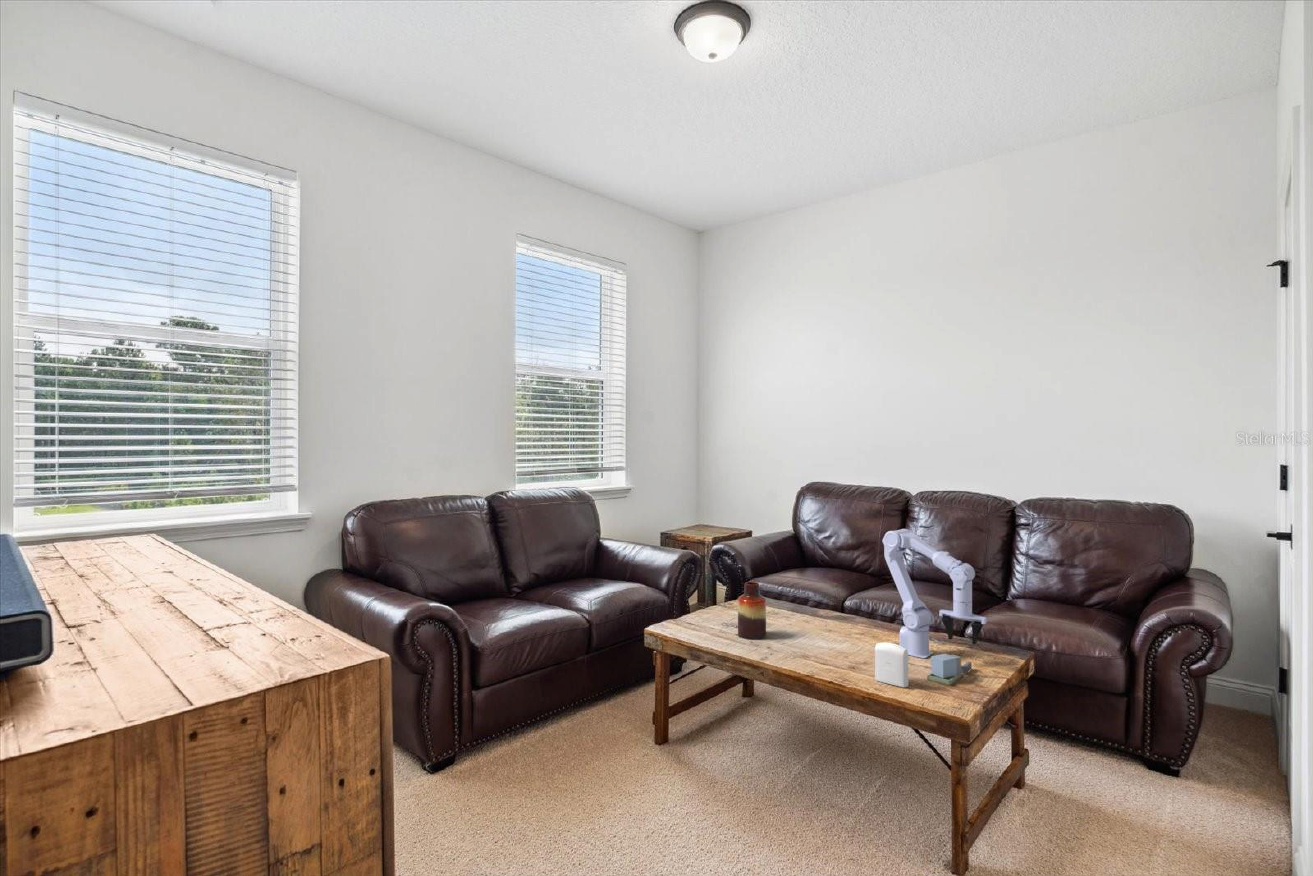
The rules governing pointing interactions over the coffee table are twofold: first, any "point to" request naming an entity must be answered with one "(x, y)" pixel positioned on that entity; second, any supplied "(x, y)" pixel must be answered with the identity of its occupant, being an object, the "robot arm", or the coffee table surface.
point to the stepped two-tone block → (945, 665)
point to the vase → (751, 613)
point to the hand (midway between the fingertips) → (962, 641)
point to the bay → (966, 667)
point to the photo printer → (891, 664)
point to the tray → (944, 679)
